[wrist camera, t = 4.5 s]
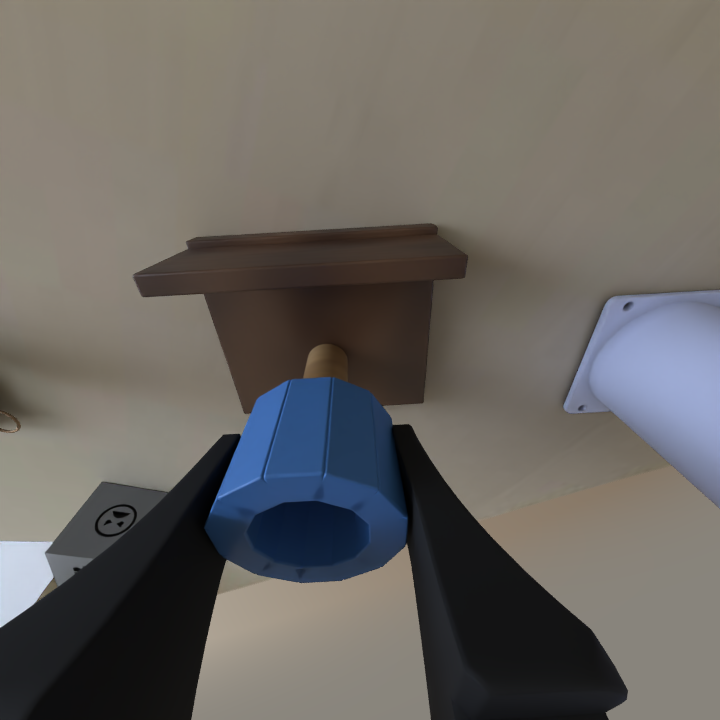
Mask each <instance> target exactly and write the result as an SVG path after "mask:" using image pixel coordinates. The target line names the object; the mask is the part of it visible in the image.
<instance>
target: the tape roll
mask: <svg viewBox="0 0 720 720" xmlns="http://www.w3.org/2000/svg"><path fill="white" fill-rule="evenodd" d="M204 529H205V531H206V533H207V535H208V536H209V538H210V540H211V541H212V543H213V545H214V546H215V548H216V550H217V551H218V553H219V554H220V555H222V557H223V558H225V559H227V560H229V561H231V562H233V563H235V564H237V565H238V566H240V567H242V568H244V569H246V570H248V571H250V572H252V573H254V574H256V573H257V575H260V576H266V577H271V578H276V579H282V580H287V581H293V582H299V583H309V582H328V581H342V580H343V579H344V580H345V579H348V578H351V577H354V576H357V575H359V574H363V573H366V572H369V571H372V570H375V569H378V568H380V567H383V566H384V565H385V564H386V563H387V562H388V561H389V560H391V559H392V558H393V557H394V556H395V555H396V554H397V553H398V552H400V551H401V550H402V549H403V548H404V547H405V545H406V544H407V530H408V513H407V507H406V501H405V495H404V489H403V483H402V478H401V472H400V466H399V462H398V458H397V454H396V448H395V442H394V436H393V430H392V419H391V417H390V415H389V414H388V413H387V412H386V410H385V409H384V408H383V407H382V405H381V404H380V403H379V402H378V400H377V399H376V398H375V397H374V395H373V394H372V393H370V391H369V390H366V389H363V388H361V387H358V386H356V385H353V384H351V383H348V382H346V381H343V380H341V379H338V378H335V377H333V378H332V377H322V378H304V379H292V380H287V381H286V382H284V383H282V384H281V385H279V386H277V387H275V388H274V389H272V390H270V391H269V392H267V393H265V394H264V395H262V396H260V397H259V398H258V399H257V400H256V403H255V405H254V407H253V410H252V412H251V414H250V417H249V419H248V421H247V424H246V426H245V429H244V431H243V433H242V436H241V438H240V441H239V443H238V446H237V448H236V450H235V453H234V455H233V458H232V460H231V462H230V465H229V467H228V470H227V472H226V475H225V477H224V479H223V482H222V484H221V487H220V489H219V491H218V494H217V496H216V499H215V501H214V504H213V506H212V508H211V511H210V513H209V516H208V518H207V520H206V523H205V525H204Z"/></svg>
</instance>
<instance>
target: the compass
mask: <svg viewBox="0 0 720 720" xmlns="http://www.w3.org/2000/svg"><path fill="white" fill-rule="evenodd" d="M0 413H2V414H4V415H6V416H8V417H10V418H11V419H13V420H14V421H15V423H16V424H17V428H16V429H15V430H4V429H1V428H0V431H1V432H6V433H14V432H16V431H19V429H20V428H21V425H20V422H19V421H18V420H17V418H15V417H14V416H12V415H11V414H9V413H7V412H5V411H1V410H0Z"/></svg>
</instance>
